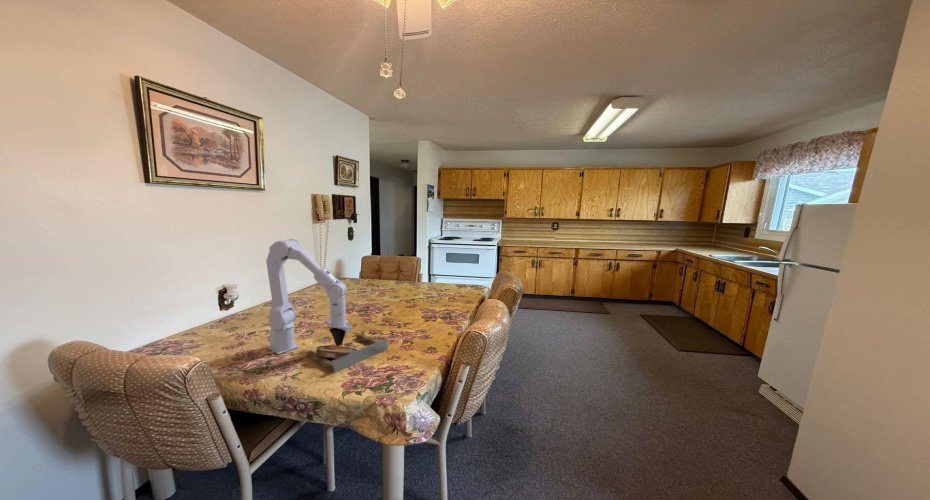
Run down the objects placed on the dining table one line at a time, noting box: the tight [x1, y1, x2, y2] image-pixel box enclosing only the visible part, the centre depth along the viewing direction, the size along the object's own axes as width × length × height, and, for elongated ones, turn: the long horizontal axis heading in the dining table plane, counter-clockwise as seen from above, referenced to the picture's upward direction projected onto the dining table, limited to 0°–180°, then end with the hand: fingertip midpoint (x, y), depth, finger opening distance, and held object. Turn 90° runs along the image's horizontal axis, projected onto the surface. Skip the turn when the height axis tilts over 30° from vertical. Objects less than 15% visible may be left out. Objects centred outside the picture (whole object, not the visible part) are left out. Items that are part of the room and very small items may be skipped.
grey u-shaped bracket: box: [306, 332, 389, 374], centre depth 118 cm, size 19×23×4 cm
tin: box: [315, 344, 358, 360], centre depth 113 cm, size 15×3×8 cm
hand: (339, 344), depth 122 cm, fingers closed
